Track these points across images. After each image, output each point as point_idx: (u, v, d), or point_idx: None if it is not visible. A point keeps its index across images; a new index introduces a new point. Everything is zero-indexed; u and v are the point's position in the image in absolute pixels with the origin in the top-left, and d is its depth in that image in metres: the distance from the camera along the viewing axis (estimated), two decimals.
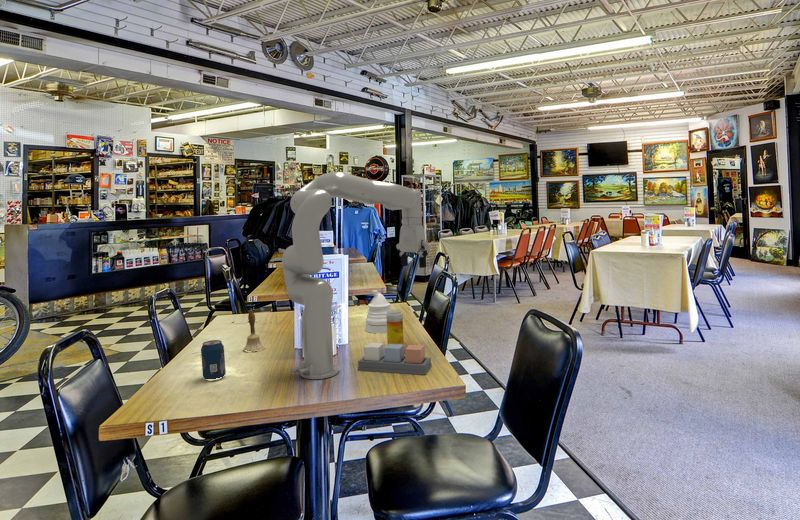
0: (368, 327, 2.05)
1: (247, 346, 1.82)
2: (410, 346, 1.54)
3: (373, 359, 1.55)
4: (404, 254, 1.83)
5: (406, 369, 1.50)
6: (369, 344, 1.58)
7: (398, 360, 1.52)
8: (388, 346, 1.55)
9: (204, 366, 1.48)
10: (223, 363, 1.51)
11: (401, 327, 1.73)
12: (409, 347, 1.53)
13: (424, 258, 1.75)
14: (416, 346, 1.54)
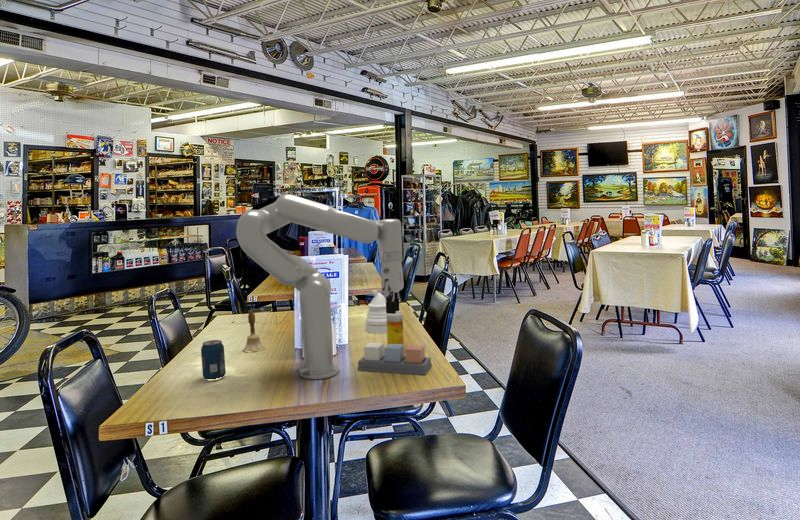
0: (368, 327, 2.05)
1: (247, 346, 1.82)
2: (410, 346, 1.54)
3: (373, 359, 1.55)
4: None
5: (406, 369, 1.50)
6: (369, 344, 1.58)
7: (398, 360, 1.52)
8: (388, 346, 1.55)
9: (204, 366, 1.48)
10: (223, 363, 1.51)
11: (401, 327, 1.73)
12: (409, 347, 1.53)
13: None
14: (416, 346, 1.54)
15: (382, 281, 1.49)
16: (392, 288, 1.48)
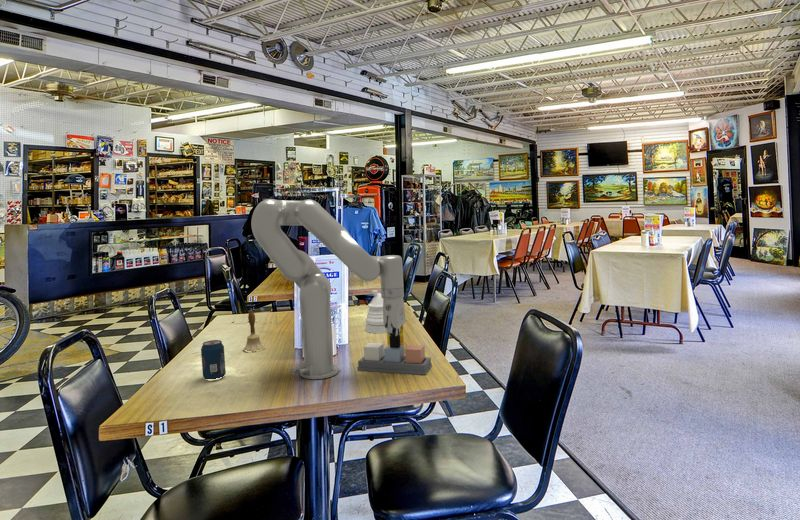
0: (368, 327, 2.05)
1: (247, 346, 1.82)
2: (410, 346, 1.54)
3: (373, 359, 1.55)
4: None
5: (406, 369, 1.50)
6: (369, 344, 1.58)
7: (398, 361, 1.52)
8: (388, 347, 1.55)
9: (204, 366, 1.48)
10: (223, 363, 1.51)
11: (401, 327, 1.73)
12: (409, 347, 1.53)
13: None
14: (416, 346, 1.54)
15: (384, 318, 1.50)
16: (394, 325, 1.49)
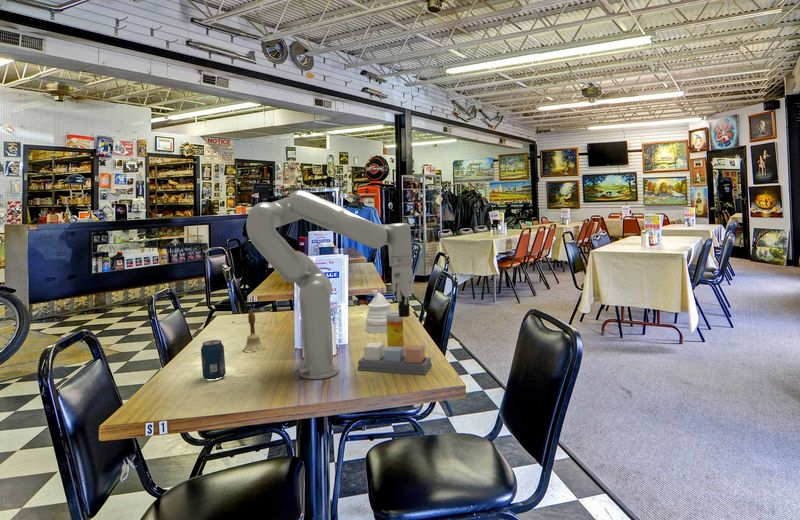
0: (368, 327, 2.05)
1: (247, 346, 1.82)
2: (410, 346, 1.54)
3: (373, 359, 1.55)
4: None
5: (406, 369, 1.50)
6: (369, 344, 1.58)
7: None
8: (388, 349, 1.55)
9: (204, 366, 1.48)
10: (223, 363, 1.51)
11: (401, 327, 1.73)
12: (409, 347, 1.53)
13: None
14: (416, 346, 1.54)
15: (393, 286, 1.48)
16: (403, 292, 1.47)
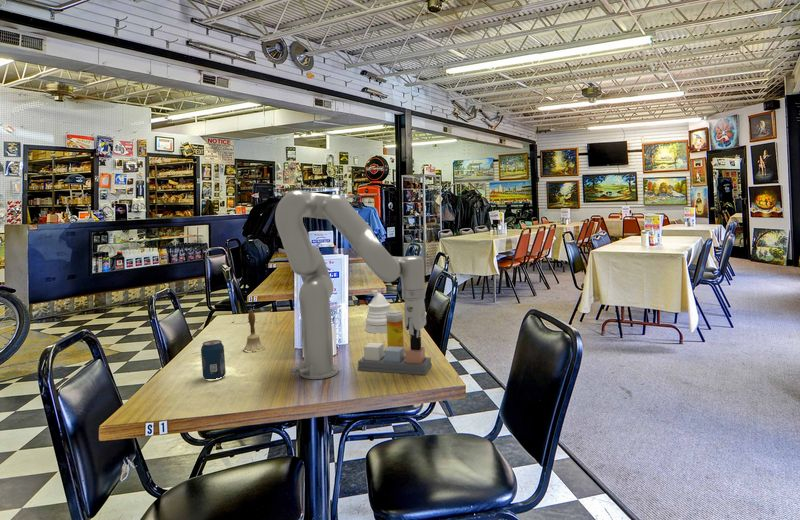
0: (368, 327, 2.05)
1: (247, 346, 1.82)
2: (410, 348, 1.54)
3: (373, 359, 1.55)
4: None
5: (406, 369, 1.50)
6: (369, 344, 1.58)
7: None
8: (388, 349, 1.55)
9: (204, 366, 1.48)
10: (223, 363, 1.51)
11: (401, 327, 1.73)
12: (409, 349, 1.53)
13: None
14: None
15: (405, 319, 1.48)
16: (416, 326, 1.47)
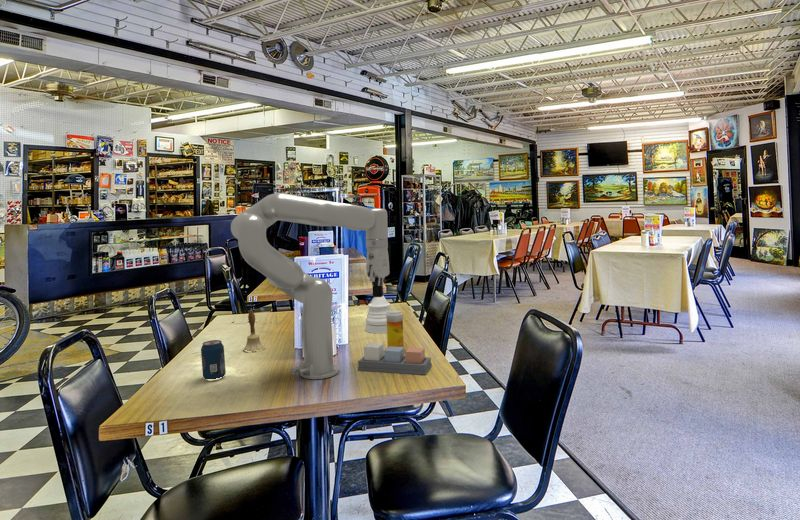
0: (368, 327, 2.05)
1: (247, 346, 1.82)
2: (410, 349, 1.54)
3: (373, 359, 1.55)
4: None
5: (406, 369, 1.50)
6: (369, 344, 1.58)
7: None
8: (388, 349, 1.55)
9: (204, 366, 1.48)
10: (223, 363, 1.51)
11: (401, 327, 1.73)
12: (409, 350, 1.53)
13: None
14: (416, 349, 1.54)
15: (367, 266, 1.58)
16: (376, 273, 1.57)
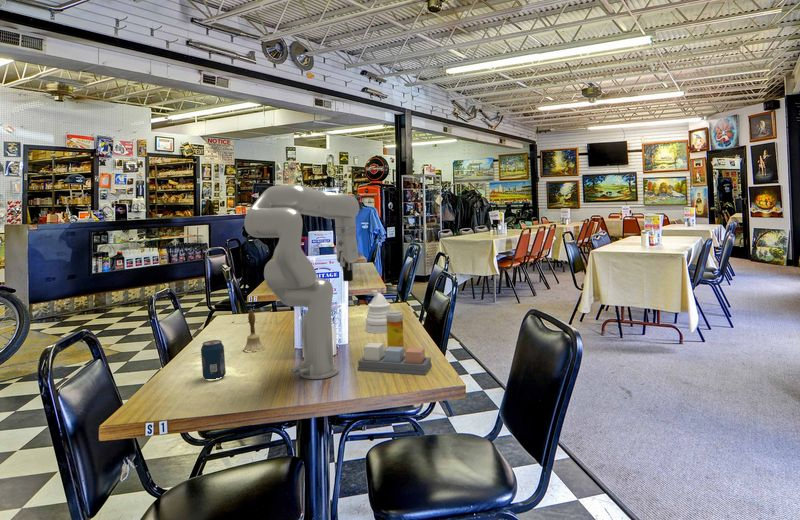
0: (368, 327, 2.05)
1: (247, 346, 1.82)
2: (410, 349, 1.54)
3: (373, 359, 1.55)
4: None
5: (406, 369, 1.50)
6: (369, 344, 1.58)
7: None
8: (388, 349, 1.55)
9: (204, 366, 1.48)
10: (223, 363, 1.51)
11: (401, 327, 1.73)
12: (409, 350, 1.53)
13: None
14: (416, 349, 1.54)
15: (337, 253, 1.69)
16: (346, 259, 1.68)
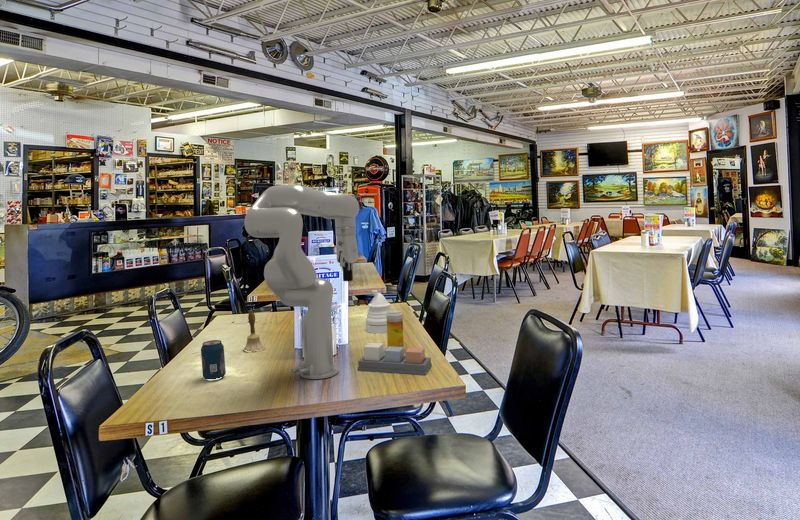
0: (368, 327, 2.05)
1: (247, 346, 1.82)
2: (410, 349, 1.54)
3: (373, 359, 1.55)
4: None
5: (406, 369, 1.50)
6: (369, 344, 1.58)
7: None
8: (388, 349, 1.55)
9: (204, 366, 1.48)
10: (223, 363, 1.51)
11: (401, 327, 1.73)
12: (409, 350, 1.53)
13: None
14: (416, 349, 1.54)
15: (337, 253, 1.69)
16: (346, 259, 1.68)
